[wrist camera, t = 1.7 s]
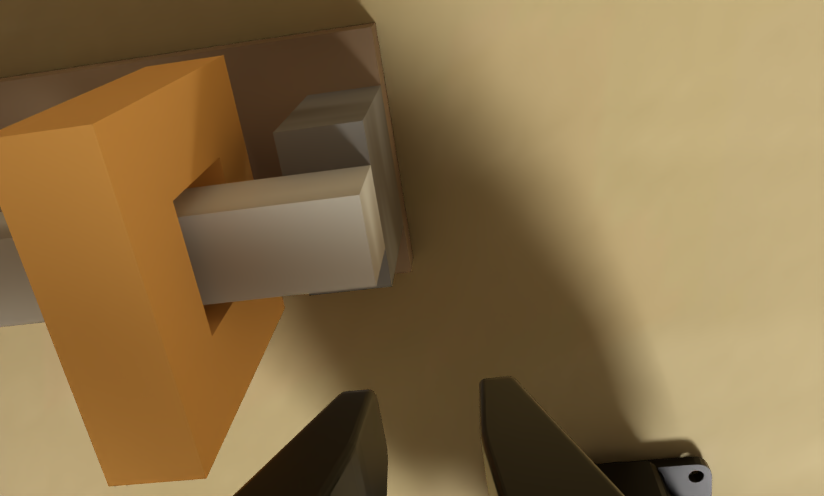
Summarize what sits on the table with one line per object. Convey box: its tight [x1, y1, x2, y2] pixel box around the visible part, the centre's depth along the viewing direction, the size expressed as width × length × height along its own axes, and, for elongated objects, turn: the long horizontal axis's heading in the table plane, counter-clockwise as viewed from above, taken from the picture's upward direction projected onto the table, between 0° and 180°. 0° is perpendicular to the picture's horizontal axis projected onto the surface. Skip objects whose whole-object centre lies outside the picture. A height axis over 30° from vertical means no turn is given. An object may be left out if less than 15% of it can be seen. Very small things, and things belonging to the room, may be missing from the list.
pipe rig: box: [0, 23, 413, 327], centre depth 19 cm, size 7×19×7 cm, turn 98°
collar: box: [0, 55, 285, 486], centre depth 16 cm, size 7×2×7 cm, turn 9°
